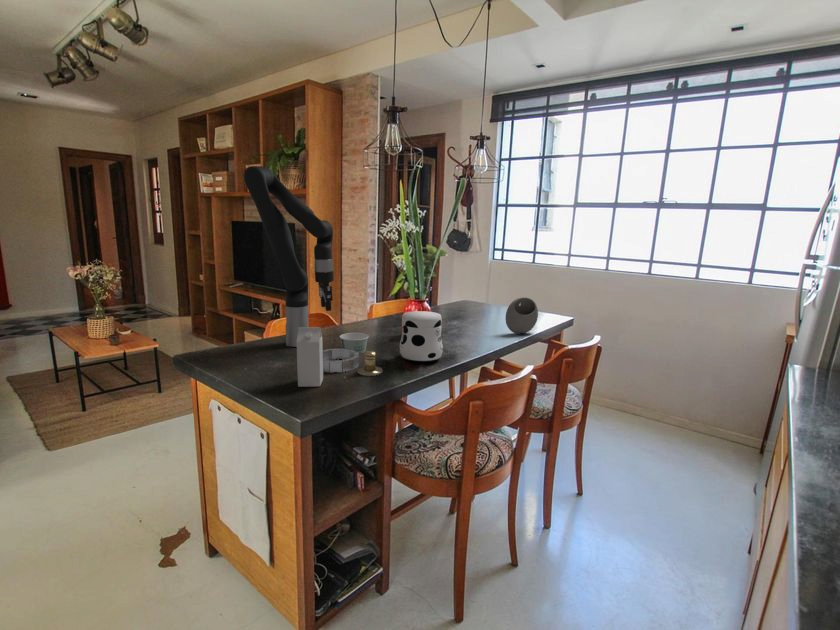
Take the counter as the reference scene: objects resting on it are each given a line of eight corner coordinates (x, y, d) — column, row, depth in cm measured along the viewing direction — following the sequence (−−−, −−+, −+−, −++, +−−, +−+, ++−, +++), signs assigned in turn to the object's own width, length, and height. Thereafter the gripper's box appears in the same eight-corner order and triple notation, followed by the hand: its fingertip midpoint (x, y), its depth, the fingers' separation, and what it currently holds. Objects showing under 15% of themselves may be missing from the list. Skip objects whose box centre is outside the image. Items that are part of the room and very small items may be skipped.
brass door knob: (357, 376, 149) (357, 356, 147) (357, 368, 158) (356, 349, 156) (383, 376, 150) (383, 355, 149) (381, 367, 159) (381, 348, 158)
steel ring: (312, 373, 151) (311, 362, 150) (315, 358, 167) (315, 349, 166) (359, 371, 154) (359, 361, 153) (358, 357, 170) (358, 348, 169)
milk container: (451, 359, 171) (453, 315, 167) (420, 368, 159) (421, 321, 156) (421, 350, 183) (422, 309, 179) (390, 358, 171) (390, 314, 168)
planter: (508, 336, 210) (511, 299, 206) (500, 333, 216) (503, 296, 213) (540, 334, 216) (543, 297, 212) (531, 331, 223) (534, 295, 219)
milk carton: (301, 379, 145) (300, 324, 141) (323, 379, 146) (322, 325, 142) (297, 387, 138) (296, 329, 134) (320, 387, 139) (319, 330, 135)
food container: (352, 357, 171) (351, 341, 170) (333, 350, 179) (333, 335, 178) (374, 351, 180) (374, 336, 178) (356, 345, 188) (356, 331, 186)
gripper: (311, 268, 180) (313, 306, 184) (318, 272, 168) (320, 312, 171) (329, 267, 184) (331, 305, 187) (337, 271, 171) (339, 311, 175)
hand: (326, 308), depth 179 cm, fingers open, 8 cm apart
